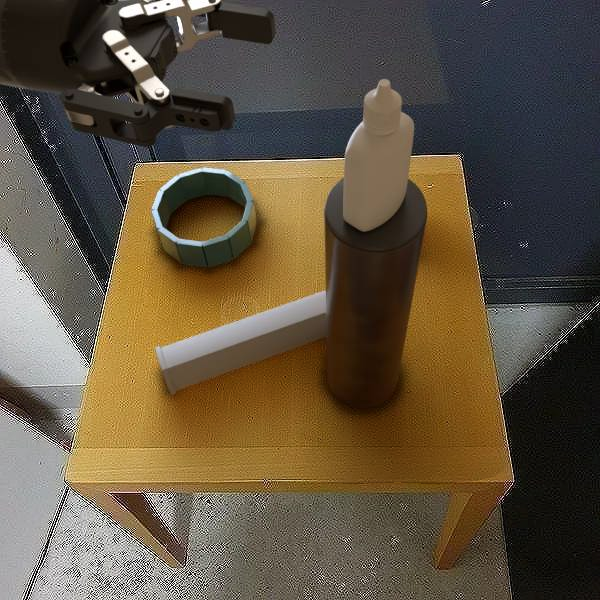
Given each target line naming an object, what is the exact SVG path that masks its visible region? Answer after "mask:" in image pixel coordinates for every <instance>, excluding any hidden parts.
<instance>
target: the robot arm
mask: <svg viewBox="0 0 600 600" xmlns="http://www.w3.org/2000/svg"><path fill="white" fill-rule="evenodd" d="M171 17H176V18H177V24H178V27H179V30H178V33H177V34H176V33H175V30H174V27H173V25H172V23H171V22H170V21H169V20H168V19H167V18H171ZM194 17H199V18H206V21H202V22H199V23H196V24H193V22H192V19H193V18H194ZM220 35H222V38H224V39H230V40H235V41H242V42H243V41H244V42H251V43H255V44H256V43H257V44H263V45H270V44H272V43H273V41H274V39H275V36H276V22H275V15H274V14H273V12H272V11H270V10H269V9H266V8H263V7H258V6H252V5H246V4H238V3H232V2H227V1H225V0H0V85H3V86H6V87H7V86H8V87H13V88H18V89H25V90H31V91H35V92H41V93H47V94H52V95H59V100H60V102H61V104H62V106H63V109H64V111H65V113H66V115H67V116H66V117H67V118H68V120H69V122H70V125H71V127H72V129H73V130H74V131H77V132H81V133H85V134H89V135H94V136H96V137H100V138H105V139H110V140H113V141H118V142H122V143H126V144H129V145H135V146H138V147H143V148H150V147H152V146H154V145H156V143H157V141H158V136H157V135H158V134H159V133H161V132H162V131H163V130H169V129H172V128H174V127H175V126H178V127H183V128H187V129H194V130H201V131H202V130H203V131H206V132H212V133H214V132H221V130H222V131H230V130H231V129H232V127H233V126H234V124H235V121H236V115H235V108H234V102H233V101H232V99H231V98H230V97H228V96H226V95H222V94H215V93H210V92H204V91H199V90H192V89H186V88H180V87H174V89H173V91H172V93H171V91H170V89H169V88H168V87H167V86H166V84H164V83H163V81H164V79H165V77H166V75H167V70H168V67H169V65H171V64H172V63H173V62H174V61H175V59H176V58H177V56H178V54H180V53H183V52H186V51H190V50H193V49H194V48H195V47H196V46H197V43H198V42H199V41H203V40H206V39H209V38H213V37H217V36H220ZM121 95H125V96H128V97H129V98H130V100H131V101H129V100H125V99H120V98H117V96H121ZM115 97H116V98H115Z"/></svg>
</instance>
